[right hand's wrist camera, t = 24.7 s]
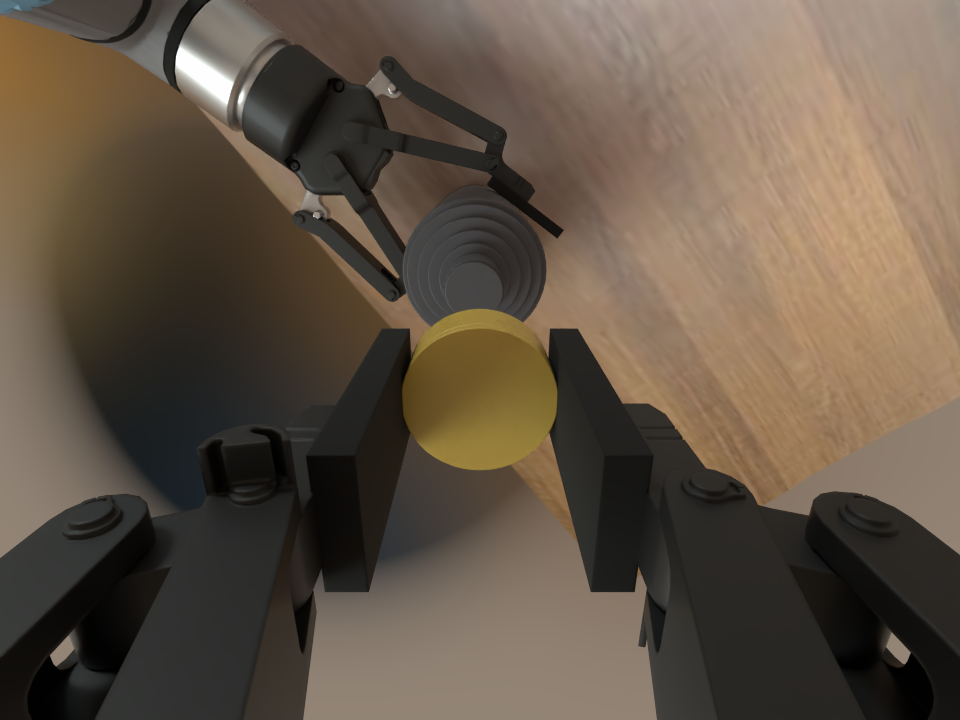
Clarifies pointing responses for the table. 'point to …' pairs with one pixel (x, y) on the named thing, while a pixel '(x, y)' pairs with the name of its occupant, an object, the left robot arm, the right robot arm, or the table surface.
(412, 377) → the cap
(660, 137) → the table surface
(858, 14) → the table surface
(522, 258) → the bottle
